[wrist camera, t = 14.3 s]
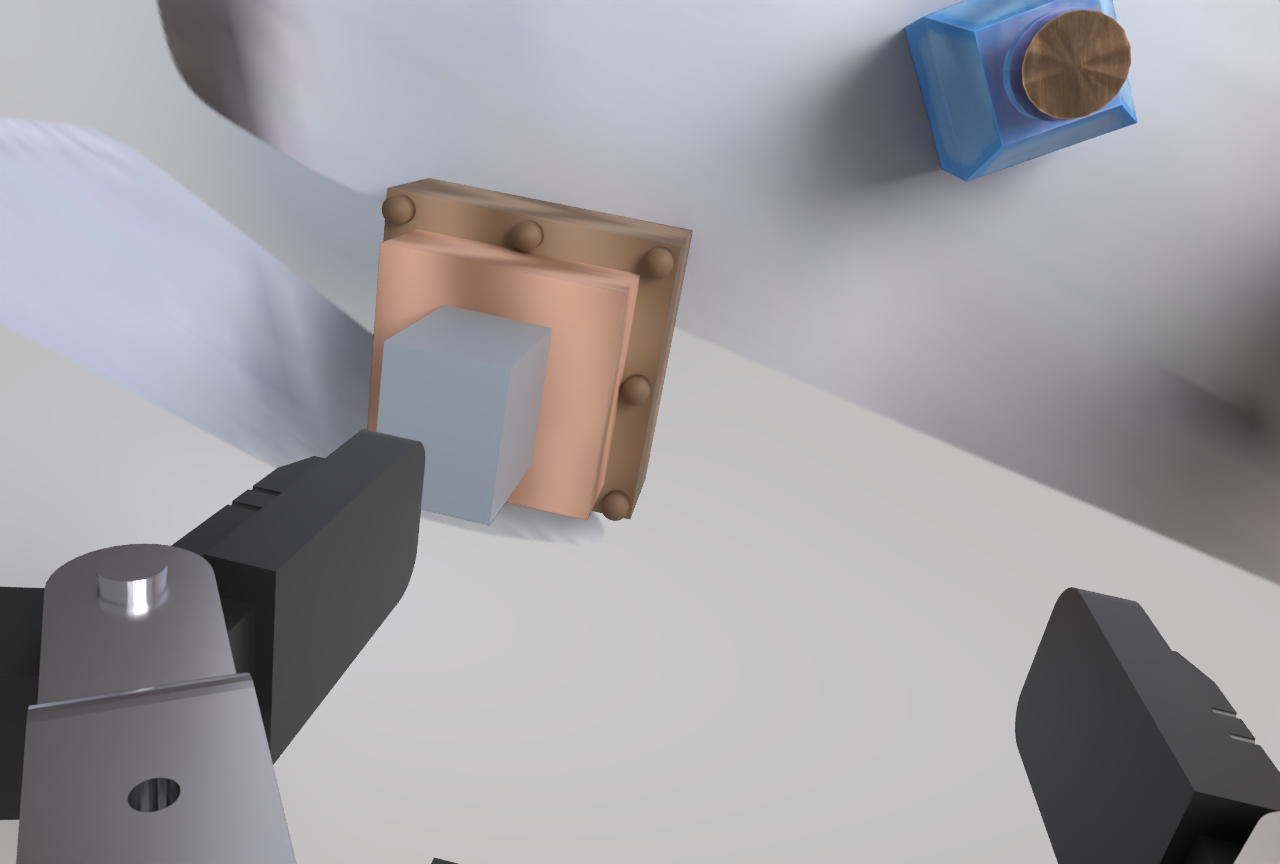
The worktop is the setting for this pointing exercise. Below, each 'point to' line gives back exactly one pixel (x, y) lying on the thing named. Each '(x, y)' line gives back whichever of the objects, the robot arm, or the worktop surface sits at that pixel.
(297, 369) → the worktop surface
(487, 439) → the grey brick
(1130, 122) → the perfume bottle
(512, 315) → the brown studded stepped block
